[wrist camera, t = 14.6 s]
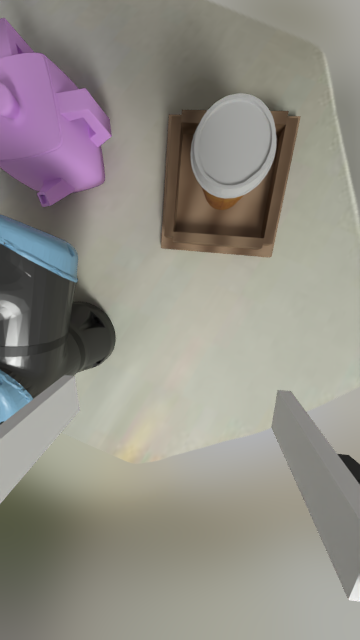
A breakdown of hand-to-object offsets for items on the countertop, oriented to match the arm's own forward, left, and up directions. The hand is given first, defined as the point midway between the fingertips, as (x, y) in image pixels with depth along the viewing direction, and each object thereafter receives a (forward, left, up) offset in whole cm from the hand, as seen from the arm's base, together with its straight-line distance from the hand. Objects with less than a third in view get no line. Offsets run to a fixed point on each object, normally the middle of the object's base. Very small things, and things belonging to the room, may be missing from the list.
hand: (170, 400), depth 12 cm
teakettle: (-26, +26, -28) cm, 46 cm away
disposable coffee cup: (+3, +22, -27) cm, 35 cm away
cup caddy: (+3, +22, -28) cm, 35 cm away
